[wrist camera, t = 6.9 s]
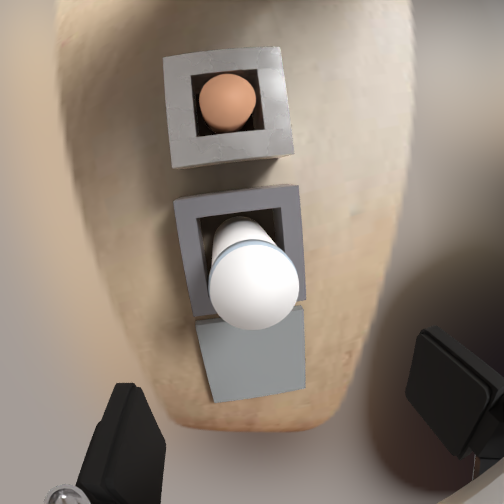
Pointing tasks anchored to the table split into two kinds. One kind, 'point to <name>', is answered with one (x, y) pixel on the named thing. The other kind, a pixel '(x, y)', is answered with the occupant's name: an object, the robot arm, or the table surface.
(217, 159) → the frame
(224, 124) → the release button
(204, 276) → the frame
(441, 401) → the robot arm
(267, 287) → the cylinder
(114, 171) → the table surface
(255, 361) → the slate mat
